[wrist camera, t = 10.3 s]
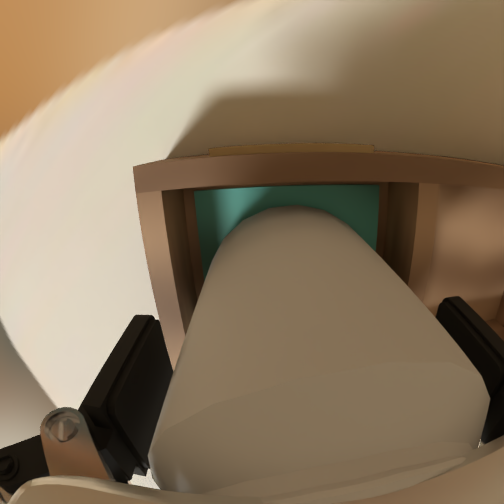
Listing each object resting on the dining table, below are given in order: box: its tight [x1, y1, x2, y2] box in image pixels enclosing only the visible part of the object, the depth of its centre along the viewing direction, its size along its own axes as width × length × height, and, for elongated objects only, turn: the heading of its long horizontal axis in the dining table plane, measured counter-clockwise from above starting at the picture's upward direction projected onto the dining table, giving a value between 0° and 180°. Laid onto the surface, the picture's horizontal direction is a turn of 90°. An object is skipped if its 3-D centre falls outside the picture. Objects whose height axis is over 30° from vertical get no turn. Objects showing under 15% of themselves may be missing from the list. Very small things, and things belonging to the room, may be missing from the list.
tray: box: [133, 143, 504, 371], centre depth 13 cm, size 12×22×4 cm, turn 93°
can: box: [148, 205, 490, 504], centre depth 9 cm, size 8×8×12 cm
